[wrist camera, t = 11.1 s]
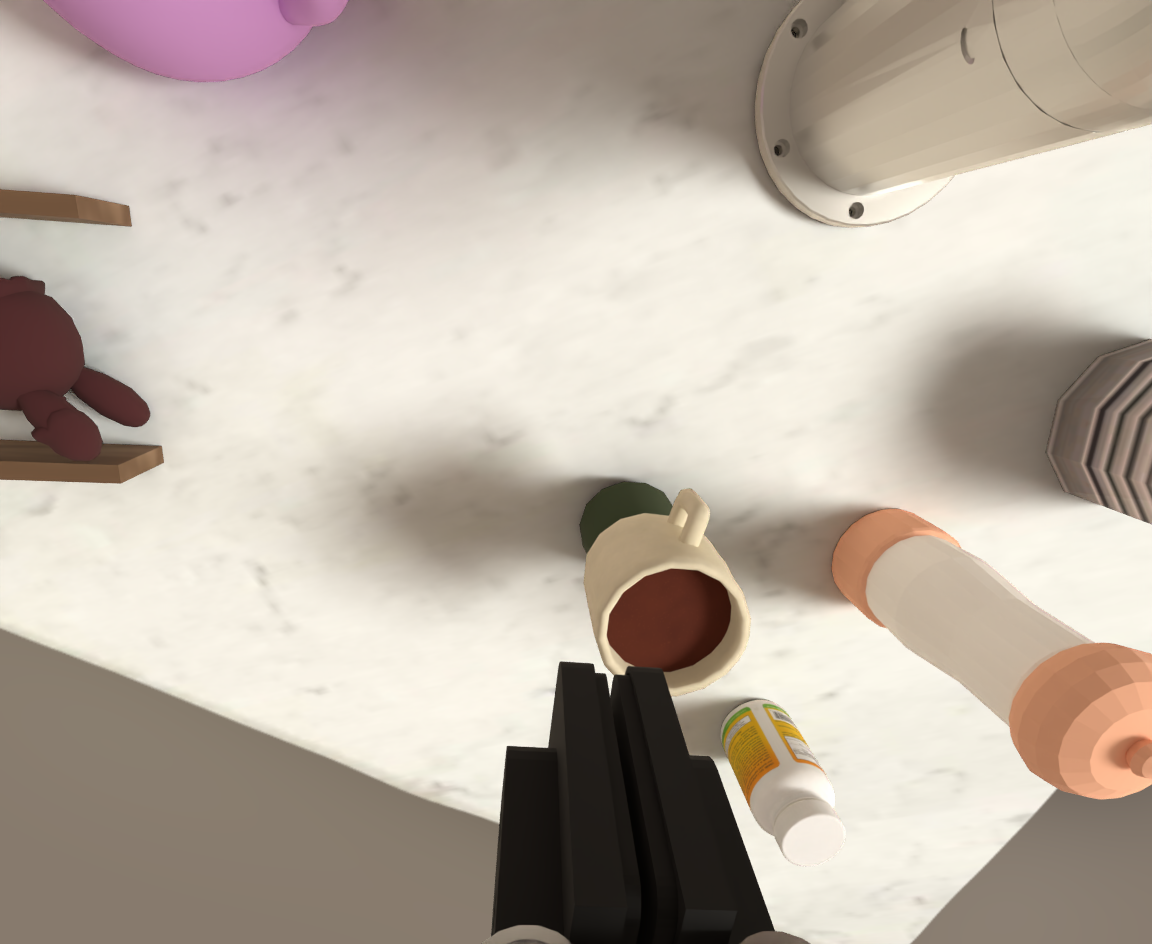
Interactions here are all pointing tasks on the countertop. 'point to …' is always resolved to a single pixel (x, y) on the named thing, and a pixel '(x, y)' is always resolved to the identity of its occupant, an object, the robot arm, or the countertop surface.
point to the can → (1108, 433)
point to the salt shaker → (1006, 653)
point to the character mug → (660, 587)
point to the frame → (32, 455)
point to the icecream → (55, 373)
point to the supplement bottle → (783, 782)
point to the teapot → (198, 32)
